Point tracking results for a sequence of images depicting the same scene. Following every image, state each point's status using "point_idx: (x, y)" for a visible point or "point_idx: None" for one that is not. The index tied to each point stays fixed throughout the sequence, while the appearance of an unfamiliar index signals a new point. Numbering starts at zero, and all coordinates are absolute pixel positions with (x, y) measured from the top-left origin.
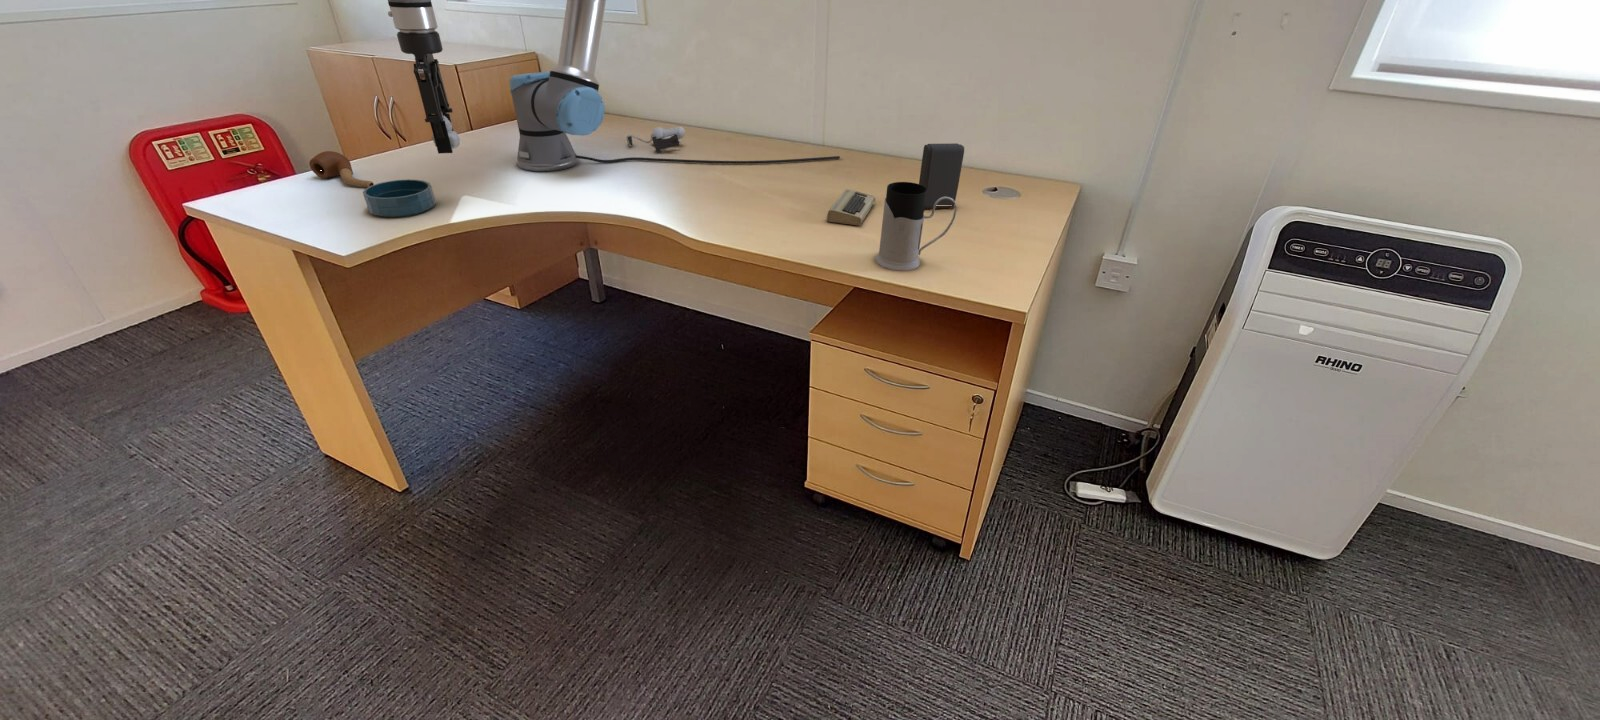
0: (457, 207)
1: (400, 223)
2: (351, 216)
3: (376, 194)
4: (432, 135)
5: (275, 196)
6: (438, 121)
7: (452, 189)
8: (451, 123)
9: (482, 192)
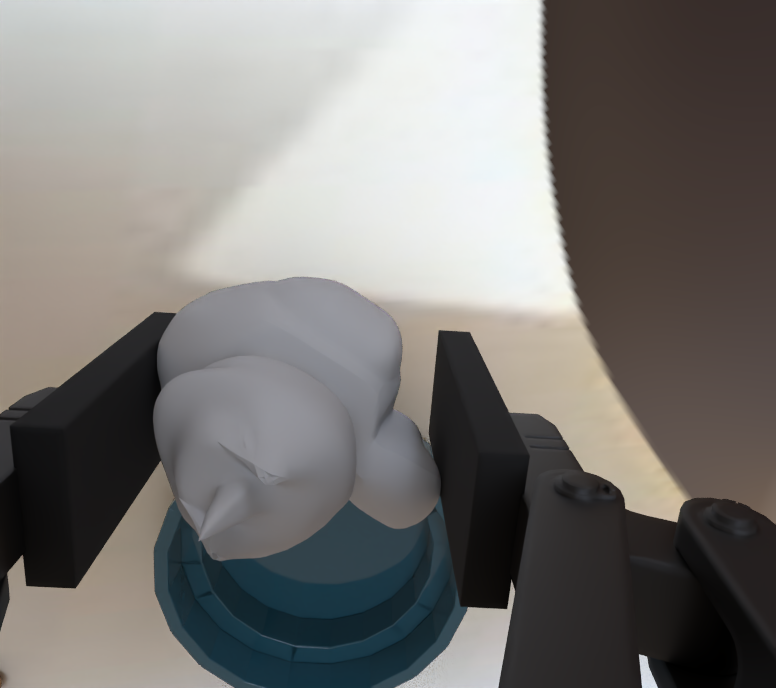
0: (371, 296)
1: None
2: None
3: (248, 646)
4: (411, 523)
5: None
6: (632, 520)
7: (57, 336)
8: (228, 372)
9: (137, 176)
